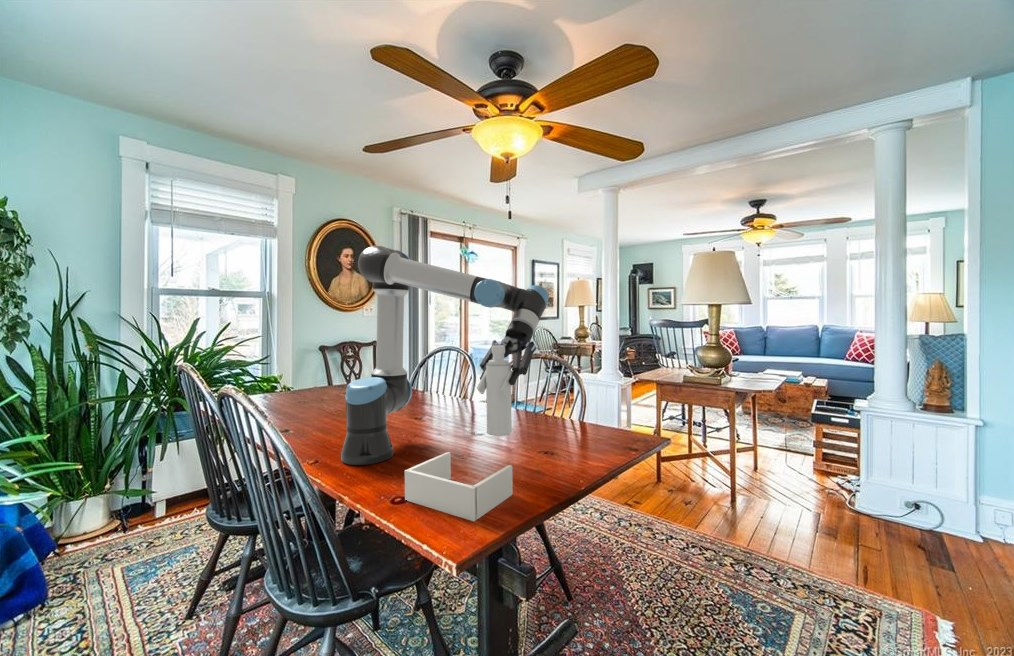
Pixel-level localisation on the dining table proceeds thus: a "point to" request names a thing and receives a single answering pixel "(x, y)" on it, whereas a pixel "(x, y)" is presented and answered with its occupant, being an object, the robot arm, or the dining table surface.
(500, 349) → the white bottle
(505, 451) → the dining table surface
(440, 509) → the storage bay
